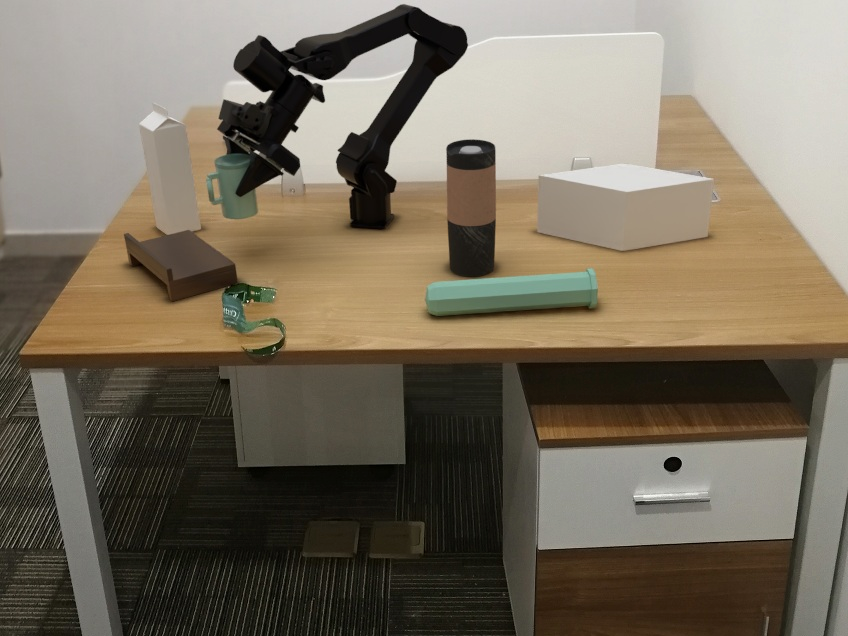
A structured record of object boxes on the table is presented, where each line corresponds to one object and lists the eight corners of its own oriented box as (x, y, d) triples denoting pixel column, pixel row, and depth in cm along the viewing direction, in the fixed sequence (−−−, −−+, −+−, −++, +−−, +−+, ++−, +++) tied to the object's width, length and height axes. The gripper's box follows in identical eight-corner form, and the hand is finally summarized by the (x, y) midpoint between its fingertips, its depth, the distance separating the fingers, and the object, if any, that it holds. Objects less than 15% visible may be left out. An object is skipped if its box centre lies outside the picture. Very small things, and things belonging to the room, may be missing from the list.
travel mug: (501, 261, 166) (502, 141, 156) (487, 280, 160) (487, 156, 150) (457, 256, 168) (455, 137, 158) (441, 274, 162) (438, 152, 152)
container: (424, 280, 145) (596, 268, 147) (422, 278, 151) (588, 267, 153) (426, 321, 146) (598, 309, 148) (425, 318, 152) (590, 306, 153)
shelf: (191, 248, 173) (187, 218, 171) (238, 283, 161) (233, 251, 158) (129, 264, 168) (123, 233, 165) (172, 301, 155) (166, 269, 152)
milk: (170, 238, 178) (148, 112, 167) (156, 227, 182) (134, 104, 171) (202, 229, 181) (183, 105, 170) (187, 219, 185) (168, 98, 174)
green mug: (248, 203, 170) (241, 151, 165) (265, 213, 165) (258, 160, 161) (204, 214, 166) (196, 161, 161) (220, 225, 162) (212, 170, 157)
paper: (538, 217, 183) (540, 161, 178) (703, 221, 180) (709, 165, 174) (535, 248, 170) (536, 189, 165) (711, 253, 167) (719, 194, 162)
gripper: (220, 68, 164) (167, 149, 164) (273, 91, 151) (215, 179, 151) (269, 107, 172) (218, 185, 172) (324, 133, 159) (269, 216, 159)
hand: (229, 190), depth 163 cm, fingers closed on green mug, 6 cm apart
